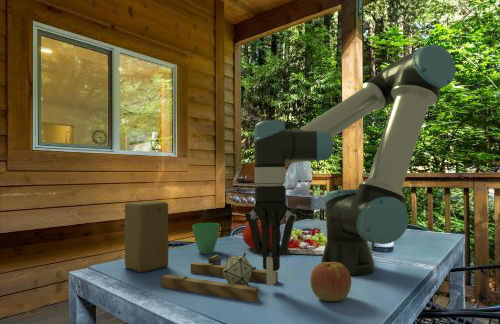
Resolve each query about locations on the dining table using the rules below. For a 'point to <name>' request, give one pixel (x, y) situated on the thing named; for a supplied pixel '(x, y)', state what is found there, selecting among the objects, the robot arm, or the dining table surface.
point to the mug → (206, 236)
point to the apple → (330, 281)
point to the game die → (237, 270)
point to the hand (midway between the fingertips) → (271, 283)
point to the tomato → (248, 237)
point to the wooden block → (146, 235)
